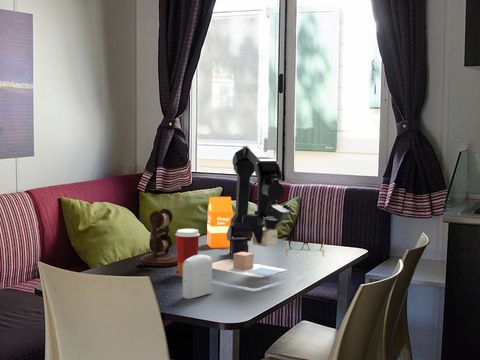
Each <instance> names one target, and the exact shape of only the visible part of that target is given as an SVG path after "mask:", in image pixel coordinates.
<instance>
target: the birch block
mask: <svg viewBox="0 0 480 360" xmlns="http://www.w3.org/2000/svg"><path fill="white" fill-rule="evenodd" d="M252 245H254V246H260V247H267V248H268V247H270V246H275V245H278V229H277V228H276V229H270V228H266V227H263V231H262V240H261V243H258V242H257V240H256V238H255V236H254V233H253V232H252Z"/></svg>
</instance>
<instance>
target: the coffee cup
mask: <svg viewBox="0 0 480 360" xmlns="http://www.w3.org/2000/svg"><path fill="white" fill-rule="evenodd" d="M199 232H200V231H199V230H198V229H195V228H181V229H177V231H176V233H175V234H174V235H175V236H176V253H177V254H176V255H177V258H178V264H177V272H178V273H177V274H178V276H180V277H183V263H184V261H185V260H187V259H188V258H190V257H192V256H194V255H199V254H198V253H199V239H200V235H201V233H199Z"/></svg>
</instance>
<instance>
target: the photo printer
mask: <svg viewBox="0 0 480 360" xmlns="http://www.w3.org/2000/svg"><path fill="white" fill-rule="evenodd" d="M212 263H213V259H212V257H211V256H210V255H206V254H198V255H194V256H192V257H190V258H188V259H187V260H185V261H184V263H183V276H182V296H183V299H188V300H192V299H195V298H198V297H202V296H206V295H209V294H212V292H213V269H212Z"/></svg>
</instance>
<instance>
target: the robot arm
mask: <svg viewBox="0 0 480 360" xmlns="http://www.w3.org/2000/svg"><path fill="white" fill-rule="evenodd" d="M232 166H233V170H234V173H235V174H236V176H237V178H236V179H237V180H236V196H235V197H236V198H235V212H234V215H233V217H232V219H231V222H230V226H229V228H228V231H227V234H226V237H227V240H228V241H229V242H230V247H229V254H230V255H232V256H233V254H235V253H239V252H247V253H249V244H248V243H249V242H251V241H252V240H253V233H254V236H255V238H256V240H257V242H258V243H261V240H262V231H263V228H270V229H277V228H278V226H279V225H280V224H281V223H283V221H287V219H288V217H289V216H291V214H292V207H291V204H288V203H287V204H283V205H282V204H278V200H279V201H280V200H281V199H282V198H283V196H284V195H285V188H284V185H282V184H281V183H280V181H282V180H283V179H282V178H283V177H282V176H283V173H282V171H281V167H280V165H279V162H278V161H277V159H275V158H273V157H269V156H268V157H267V156H266V155H265V154H264V153H263V152H262V151H261V150H260V148H259V146H258V145H256V144H251V145H250V144H246V145H243V147H242V148H241V149H239V150H237V151H236V152H235V153H234V155H233V157H232ZM254 174H255V175H256V178H257V179H256V181H257V196H256V197H257V198H255V199H254V202H255V203H256V204H257V205H256V210H254V213H248V212H249V198H250V197H249V196H250V184H251V183H250V181H251V177H252V176H253V175H254Z"/></svg>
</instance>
